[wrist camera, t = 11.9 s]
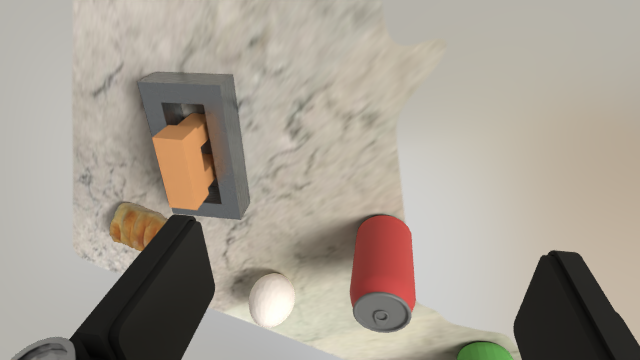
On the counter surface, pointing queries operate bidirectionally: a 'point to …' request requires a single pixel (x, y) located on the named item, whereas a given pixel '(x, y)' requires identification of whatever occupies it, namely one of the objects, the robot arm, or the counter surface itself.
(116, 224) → the pastry
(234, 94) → the gray rectangular frame
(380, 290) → the beer can
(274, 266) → the counter surface
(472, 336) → the counter surface
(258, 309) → the egg
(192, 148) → the tall orange stepped block
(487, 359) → the wine bottle
